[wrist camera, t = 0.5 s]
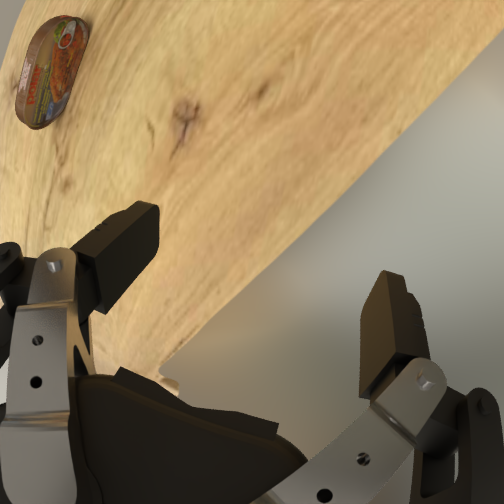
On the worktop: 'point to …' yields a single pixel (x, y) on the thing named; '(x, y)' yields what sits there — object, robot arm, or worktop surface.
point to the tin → (50, 70)
